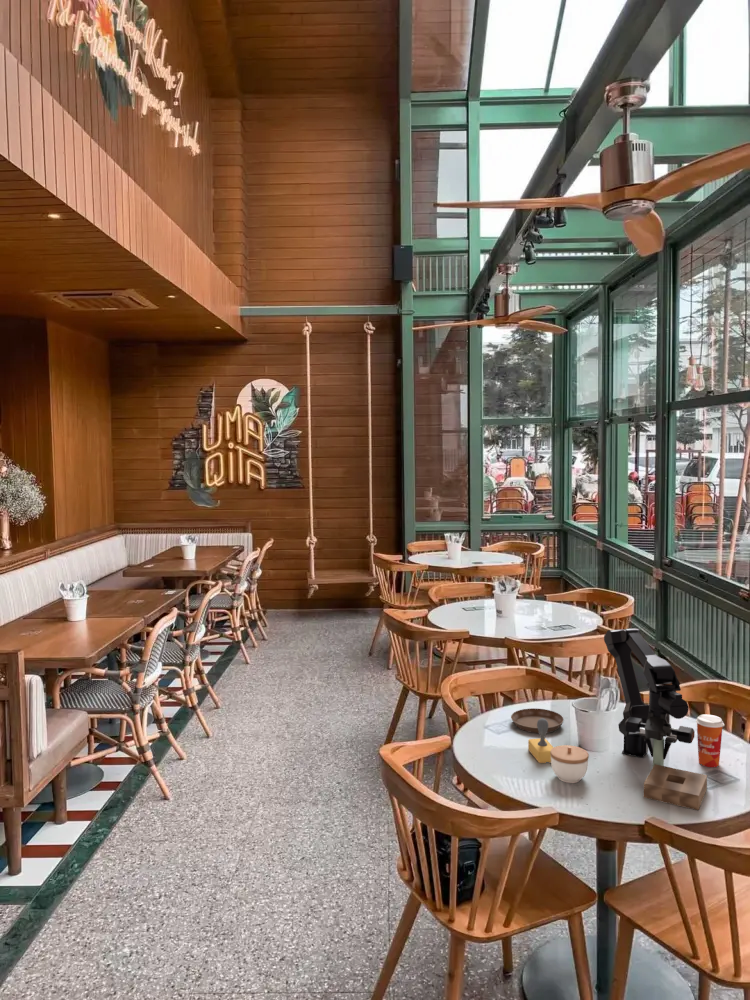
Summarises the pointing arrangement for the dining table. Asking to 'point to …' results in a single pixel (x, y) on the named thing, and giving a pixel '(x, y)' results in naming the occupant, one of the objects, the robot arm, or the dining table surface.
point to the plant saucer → (536, 719)
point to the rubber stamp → (541, 743)
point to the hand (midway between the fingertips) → (658, 757)
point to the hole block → (675, 786)
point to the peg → (658, 752)
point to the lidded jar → (569, 763)
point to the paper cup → (709, 739)
